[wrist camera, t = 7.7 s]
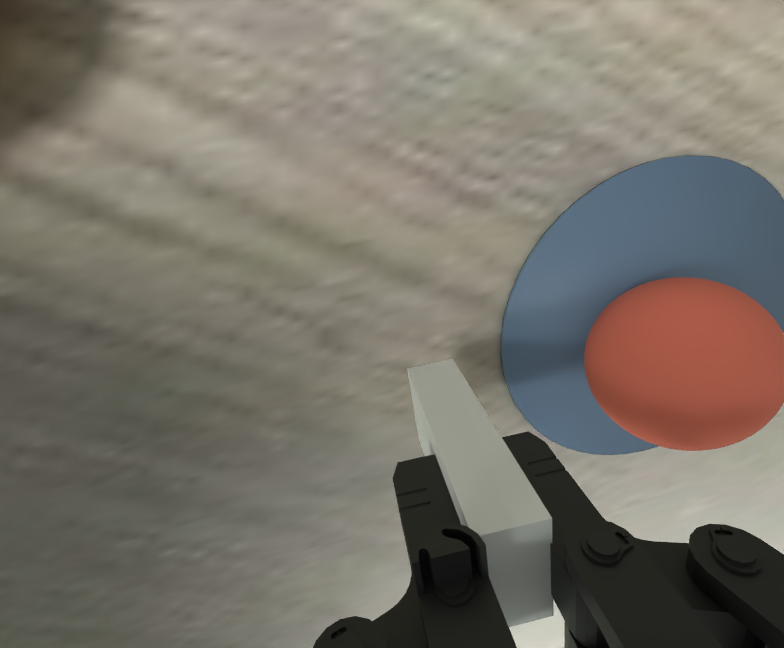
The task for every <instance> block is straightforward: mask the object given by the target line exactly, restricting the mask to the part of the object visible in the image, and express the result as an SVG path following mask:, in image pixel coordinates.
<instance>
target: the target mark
mask: <svg viewBox="0 0 784 648" xmlns="http://www.w3.org/2000/svg"><path fill="white" fill-rule="evenodd" d="M675 277H691V278H700V279H707V280H711V281H715V282H719V283H722V284H725V285H728V286H730V287H733V288H735V289H737V290H739V291H741V292H743V293H745V294H746V295H748V296H749V297H751V298H752V299H754V300H755V301H757V302H758V303H759V304H760V305H761V306H762V307H764V308H765V309H766V310H767V311H768V312H769V313H770V315H771V316H772V317H773V318H774V319H775V320H776V322H777V323H778V325H779V327H780V328H781V330H782V331H783V333H784V200H783V198H782V197H781V195H780V194H779V192H778V191H777V190H776V189H775V188H774V187H773V186H772V185H771V184H770V183H769V182H768V181H767V180H766V179H765V178H764V177H762V176H760V175H759V174H757V173H756V172H754V171H753V170H751V169H750V168H748V167H745V166H743V165H741V164H738V163H736V162H733V161H730V160H726V159H721V158H716V157H710V156H678V157H668V158H662V159H659V160H655V161H651V162H647V163H643V164H640V165H638V166H635V167H633V168H630V169H628V170H625V171H623V172H620V173H618V174H617V175H615V176H613V177H611V178H609V179H608V180H606V181H604V182H602V183H600V184H599V185H597V186H596V187H594V188H593V189H592V190H590V191H589V192H587V193H586V194H585V195H583V196H582V197H580V198H579V199H578V200H577V201H576V202H575V203H573V204H572V205H571V206H570V207H569V208H568V209H567V210H566V211H565V212H563V213H562V214H561V215H560V216H559V217H558V218H557V220H556V221H555V222H554V223H553V224H552V225H551V226H550V227H549V229H548V230H547V231H546V232H545V233H544V234H543V236H542V237H541V238H540V240H539V241H538V243H537V244H536V245H535V247H534V248H533V250H532V251H531V252H530V254H529V256H528V258H527V259H526V261H525V263H524V265H523V267H522V268H521V270H520V272H519V274H518V276H517V278H516V281H515V283H514V286H513V288H512V291H511V293H510V296H509V299H508V303H507V307H506V310H505V314H504V319H503V326H502V333H501V359H502V367H503V373H504V377H505V380H506V383H507V387H508V390H509V392H510V394H511V396H512V398H513V400H514V402H515V404H516V406H517V407H518V409H519V410H520V411H521V413H522V414H523V416H524V417H525V418H526V420H527V421H528V422H529V423H530V424H531V425H532V426H533V427H534V428H535V429H536V430H537V431H539V432H540V433H541V434H543V435H544V436H545V437H547V438H548V439H550V440H552V441H554V442H556V443H558V444H559V445H561V446H564V447H567V448H570V449H573V450H576V451H579V452H585V453H590V454H601V455H616V454H628V453H633V452H639V451H644V450H647V449H651V448H654V447H658V445H655V444H652V443H649V442H646V441H644V440H642V439H640V438H638V437H636V436H634V435H632V434H631V433H629V432H627V431H626V430H624V429H623V428H621V427H620V426H619V425H618V424H616V423H615V422H614V421H613V420H612V419H611V418H610V417H609V416H608V415H607V414H606V413H605V412H604V411H603V409H602V408H601V407H600V405H599V404H598V403H597V401H596V399H595V397H594V396H593V394H592V392H591V389H590V387H589V384H588V382H587V378H586V373H585V367H584V352H585V345H586V341H587V338H588V335H589V333H590V330H591V328H592V326H593V324H594V322H595V321H596V319H597V318H598V316H599V315H600V314H601V312H602V311H603V310H604V309H605V308H606V307H607V306H608V305H609V304H610V303H611V302H612V301H614V300H615V299H616V298H617V297H619V296H620V295H622V294H623V293H625V292H627V291H628V290H630V289H633V288H635V287H637V286H639V285H642V284H645V283H648V282H650V281H655V280H659V279H665V278H675Z"/></svg>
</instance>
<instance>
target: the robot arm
mask: <svg viewBox="0 0 784 648" xmlns="http://www.w3.org/2000/svg"><path fill="white" fill-rule="evenodd" d="M407 370H408V377H409V383H410V389H411V395H412V401H413V408H414V414H415V420H416V426H417V432H418V438H419V441H420V444H421V447H422V450H423V453H424V457H420V458H416V459H411V460H407V461H403V462H398V463H397V466H396V470H395V473H394V476H393V482H394V487H395V492H396V497H397V502H398V507H399V512H400V517H401V522H402V527H403V532H404V537H405V541H406V546H407V551H408V555H409V560H410V565H411V570H412V576H411V581H410V585H409V587H408V589H407V591H406V594H405V595H404V596H403V598H402V599H401V600H400V601H399V603H398V604H396V605H395V606H394V607H393V608H392V609H390V610H389V611H388V612H386V613H384V614H383V615H381V616H380V617H378V618H377V619H375V620H374V621H371V620H369V619H366V618H361V617H356V616H354V617H349V618H344V619H340V620H339V621H337V622H335V623H334V624H332V625H331V626H329V627H327V628H326V630H325V631H324V632H323V633H322V634H321V636H320V637H319V638H318V639H317V640H316V642H315V644H314V647H313V648H517V647H516V645H515V642H514V640H513V637H512V635H511V632H510V629H509V627H511V626H515V625H518V624H522V623H526V622H530V621H534V620H537V619H541V618H545V617H549V616H553V599H554V601H555V603H556V605H557V606H558V608H559V610H560V612H561V614H562V616H563V618H564V620H565V648H784V555H783V554H782V553H780V552H779V551H777V550H776V549H774V548H773V547H771V546H770V545H768V544H767V543H765V542H764V541H762V540H761V539H759V538H757V537H755V536H754V535H752V534H750V533H748V532H746V531H744V530H742V529H738V528H735V527H731V526H728V525H720V524H708V525H704V526H701V527H698V528H696V529H695V530H694V532H693V533H692V534H691V535H690V539H689V543H672V542H654V541H647V540H641V539H637V538H634V537H633V536H632V535H631V534H630V533H629V532H628V531H627V530H625V529H624V528H622V527H620V526H618V525H616V524H614V523H612V522H608V521H606V520H605V519H604V518H603V517H602V516H601V515H600V513H599V512H598V511H597V510H596V508H595V507H594V506H593V504H592V503H591V502H590V500H589V499H588V498H587V496H586V495H585V494H584V492H583V491H582V490H581V489H580V487H579V486H578V485H577V483H576V482H575V481H574V479H573V478H572V477H571V475H570V474H569V473H568V471H566V470H565V468H564V466H563V465H562V464H561V462H560V461H559V460H558V459H556V456H555V454H554V453H553V452H552V450H551V449H550V448H549V447H548V445H547V444H546V443H545V442H544V441H543V440H541V439H539V438H538V437H536V436H535V435H533V434H531V433H530V432H524V433H520V434H515V435H511V436H506V437H501V435H500V434H499V432H498V431H497V429H496V427H495V426H494V424H493V423H492V421H491V419H490V418H489V416H488V415H487V413H486V411H485V410H484V408H483V407H482V405H481V403H480V402H479V400H478V399H477V397H476V395H475V394H474V392H473V391H472V389H471V387H470V386H469V384H468V382H467V381H466V379H465V378H464V376H463V374H462V373H461V371H460V370H459V368H458V366H457V365H456V363H455V362H454V360H453V359H449V360H444V361H439V362H434V363H430V364H425V365H420V366H416V367H411V368H407Z"/></svg>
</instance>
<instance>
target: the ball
mask: <svg viewBox="0 0 784 648" xmlns="http://www.w3.org/2000/svg"><path fill="white" fill-rule="evenodd" d="M584 367H585V373H586V378H587V382H588V384H589V387H590V389H591V392H592V394H593V396H594V397H595V399H596V401H597V403H598V404H599V405H600V407H601V408H602V409H603V411H604V412H605V413H606V414H607V415H608V416H609V417H610V418H611V419H612V420H613V421H614V422H615V423H616V424H618V425H619V426H620V427H621V428H623V429H624V430H626V431H627V432H629V433H631V434H632V435H634V436H636V437H638V438H640V439H642V440H644V441H646V442H649V443H652V444H655V445H658V446H661V447H666V448H670V449H677V450H686V451H700V450H709V449H716V448H720V447H724V446H728V445H731V444H734V443H736V442H739V441H742V440H743V439H745V438H747V437H749V436H751V435H753V434H754V433H756V432H757V431H758V430H760V429H761V428H763V427H764V426H765V425H766V424H767V423H768V422H769V421H770V420H771V419H772V418H773V417H774V416H775V415H776V413H777V412H778V410H779V409H780V408H781V406H782V404H783V402H784V333H783V331H782V330H781V328H780V327H779V325H778V323H777V322H776V320H775V319H774V318H773V317H772V316H771V315H770V313H769V312H768V311H767V310H766V309H765V308H764V307H762V306H761V305H760V304H759V303H758V302H757V301H755V300H754V299H752V298H751V297H749V296H748V295H746V294H745V293H743V292H741V291H739V290H737V289H735V288H733V287H730V286H728V285H725V284H722V283H719V282H715V281H711V280H707V279H700V278H691V277H675V278H665V279H659V280H655V281H650V282H648V283H645V284H642V285H639V286H637V287H635V288H633V289H630V290H628V291H627V292H625V293H623V294H622V295H620V296H619V297H617V298H616V299H615V300H614V301H612V302H611V303H610V304H609V305H608V306H607V307H606V308H605V309H604V310H603V311H602V312H601V314H600V315H599V316H598V318H597V319H596V321H595V322H594V324H593V326H592V328H591V330H590V333H589V335H588V338H587V341H586V345H585V352H584Z"/></svg>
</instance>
